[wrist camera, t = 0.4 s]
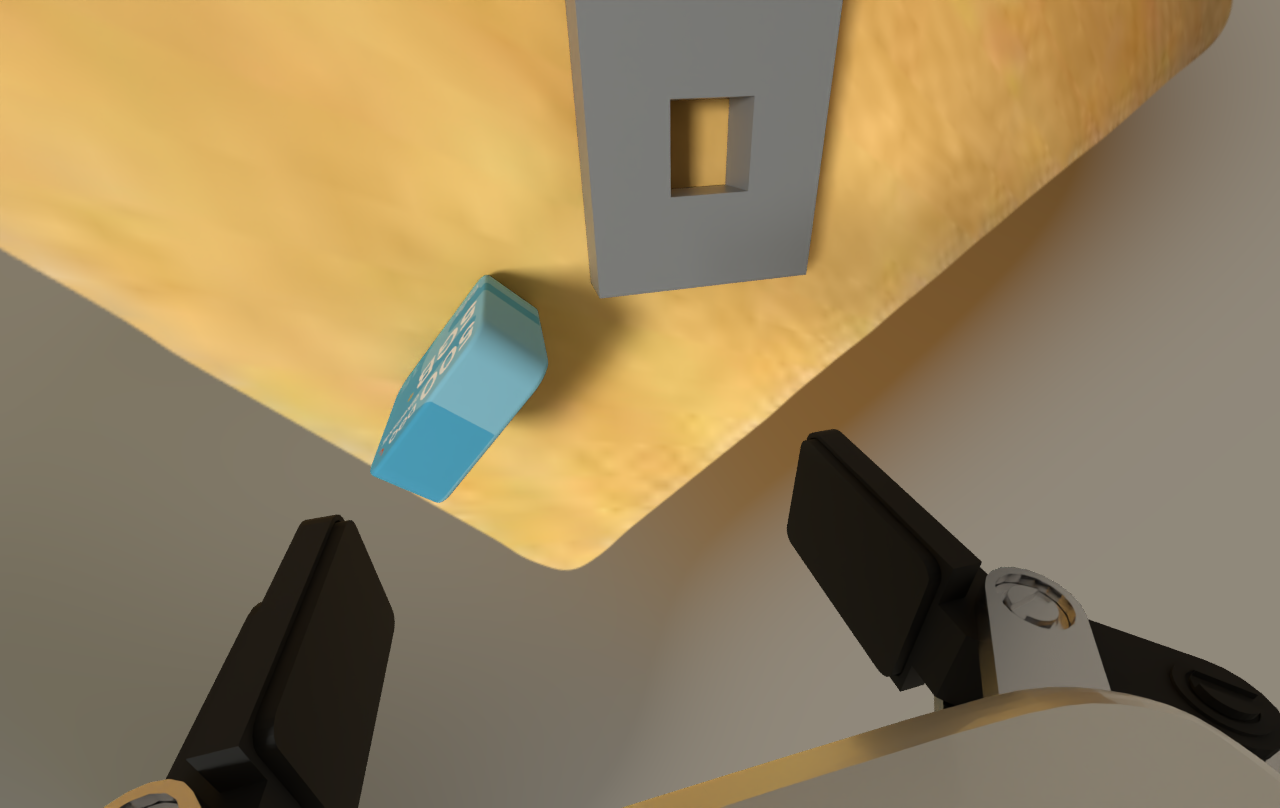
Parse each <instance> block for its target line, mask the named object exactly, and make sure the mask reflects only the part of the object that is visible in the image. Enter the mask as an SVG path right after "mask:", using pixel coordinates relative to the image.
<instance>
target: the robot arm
mask: <svg viewBox="0 0 1280 808" xmlns="http://www.w3.org/2000/svg"><path fill="white" fill-rule="evenodd" d="M787 534H788V538H789V540H790V542H791V544H792V545H793V547H794V548H795V550H796V551H797V553H798V554H799V556H800V557H801V558H802V560H803V561H804V563H805V564H806V565H807V567H808V569H809V570H810V572H811V573H812V575H813V576H814V577H815V579H816V580H817V582H818V583H819V585H820V586H821V588H822V589H823V590H824V592H825V593H826V595H827V596H828V598H829V599H830V601H831V602H832V603H833V605H834V607H835V608H836V609H837V611H838V612H839V614H840V615H841V617H842V618H843V620H844V621H845V623H846V624H847V625H848V627H849V628H850V630H851V631H852V633H853V634H854V636H855V637H856V639H857V640H858V642H859V643H860V644H861V646H862V647H863V649H864V650H865V652H866V653H867V655H868V656H869V658H870V659H871V660H872V662H873V663H874V665H875V666H876V668H877V669H878V670H879V671H880V673H882V674H883V675H884V676H886V677H888V676H890V678H891V679H892V681H893V682H894V683H895V685H896V686H897V688H898V689H899V691H904V690H907V689H911V688H914V687H917V686H920V685H924V683H925V684H926V685H927V686H928V688H929V689H930V690H931V692H932V693H933V694H934V712H932V713H929V714H925V715H922V716H918V717H915V718H911V719H908V720H905V721H901V722H898V723H895V724H891V725H888V726H885V727H881V728H879V729H875V730H872V731H868V732H865V733H862V734H859V735H856V736H852V737H849V738H845V739H842V740H839V741H836V742H833V743H829V744H826V745H823V746H819V747H816V748H813V749H810V750H806V751H803V752H800V753H797V754H793V755H790V756H787V757H783V758H780V759H777V760H774V761H771V762H768V763H764V764H761V765H758V766H755V767H751V768H748V769H745V770H742V771H738V772H735V773H732V774H729V775H725V776H722V777H719V778H716V779H712V780H709V781H706V782H703V783H700V784H696V785H693V786H690V787H687V788H684V789H680V790H677V791H674V792H671V793H668V794H664V795H661V796H658V797H655V798H652V799H648V800H645V801H642V802H639V803H636V804H632V805H629V806H626V807H623V808H1280V713H1279V711H1278V710H1277V708H1276V707H1275V706H1273V704H1272V703H1271V702H1270V701H1269V700H1268V699H1267V698H1266V697H1265V696H1264V695H1263V694H1262V693H1260V692H1259V691H1258V690H1256V689H1255V688H1254V687H1252V686H1251V685H1250V684H1248V683H1247V682H1246V681H1244V680H1243V679H1241V678H1240V677H1238V676H1236V675H1234V674H1233V673H1231V672H1229V671H1228V670H1226V669H1224V668H1222V667H1219V666H1217V665H1215V664H1213V663H1210V662H1208V661H1206V660H1203V659H1200V658H1197V657H1195V656H1192V655H1189V654H1186V653H1183V652H1180V651H1177V650H1174V649H1171V648H1169V647H1166V646H1163V645H1160V644H1157V643H1154V642H1152V641H1148V640H1146V639H1143V638H1140V637H1137V636H1134V635H1132V634H1128V633H1126V632H1123V631H1120V630H1117V629H1114V628H1111V627H1109V626H1106V625H1103V624H1100V623H1097V622H1094V621H1091V620H1088V618H1087V615H1086V613H1085V611H1084V609H1083V608H1082V606H1081V604H1080V603H1079V602H1078V601H1077V600H1076V599H1075V598H1074V597H1073V596H1072V594H1071V593H1069V592H1068V591H1067V590H1066V589H1064V588H1063V587H1062V586H1060V585H1059V584H1058V583H1056V582H1054V581H1052V580H1050V579H1048V578H1047V577H1045V576H1043V575H1040V574H1038V573H1035V572H1032V571H1030V570H1026V569H1021V568H1016V567H1000V568H998V569H995V570H992V571H991V572H990V573H989V574H987V573H986V572H985V571H983V570H982V569H981V568H980V565H981V561H980V560H979V559H978V558H977V557H976V556H975V555H974V554H973V553H972V552H971V551H969V550H968V549H967V548H966V547H965V546H964V545H963V544H962V543H961V542H960V541H959V540H958V539H956V538H955V537H954V536H953V535H952V534H951V533H950V532H949V531H948V530H947V529H945V527H943V526H942V525H941V524H940V523H939V522H938V521H937V520H936V519H935V518H934V517H933V516H932V515H930V514H929V513H928V512H927V511H926V510H925V509H924V508H923V507H922V506H920V505H919V504H918V503H917V502H916V501H915V500H914V499H913V498H912V497H911V496H910V495H909V494H908V493H906V492H905V491H904V490H903V489H902V488H901V487H900V486H899V485H898V484H897V483H896V482H894V481H893V480H892V479H891V478H890V477H889V476H888V475H887V474H886V473H885V472H883V470H881V469H880V468H879V467H878V466H877V465H876V464H875V463H874V462H873V461H872V460H870V458H868V457H867V456H866V455H865V454H864V453H863V452H862V451H861V450H860V449H859V448H858V447H856V446H855V445H854V444H853V443H852V442H851V441H850V440H849V439H848V438H847V437H846V436H845V435H843V434H842V433H841V432H840V431H838V430H836V429H831V430H825V431H819V432H814V433H811V434H809V436H808V437H807V440H805V441H803V442H802V445H801V449H800V454H799V460H798V467H797V472H796V477H795V483H794V489H793V495H792V501H791V506H790V513H789V518H788V524H787ZM394 622H395V621H394V613H393V610H392V608H391V605H390V603H389V601H388V598H387V596H386V594H385V592H384V589H383V587H382V585H381V582H380V580H379V578H378V575H377V573H376V571H375V569H374V566H373V564H372V562H371V559H370V557H369V555H368V552H367V550H366V548H365V545H364V543H363V541H362V539H361V536H360V534H359V532H358V529H357V527H356V525H355V523H354V522H353V521H352V520H348V521H344V519H343V518H342V517H341V516H340V515H332V516H326V517H320V518H314V519H309V520H305V521H303V522H302V523H301V524H300V526H299V528H298V529H297V531H296V533H295V536H294V538H293V540H292V542H291V544H290V546H289V548H288V550H287V552H286V554H285V556H284V559H283V560H282V562H281V564H280V566H279V568H278V571H277V572H276V575H275V577H274V579H273V581H272V583H271V585H270V587H269V589H268V591H267V593H266V595H265V597H264V599H263V601H262V602H260V603H258V604H257V605H256V606H255V607H253V609H252V610H251V612H250V614H249V615H248V617H247V618H246V620H245V622H244V624H243V626H242V628H241V630H240V633H239V634H238V637H237V638H236V640H235V643H234V644H233V646H232V648H231V650H230V652H229V655H228V656H227V658H226V660H225V662H224V664H223V666H222V668H221V670H220V672H219V674H218V676H217V678H216V680H215V682H214V684H213V686H212V688H211V690H210V692H209V694H208V696H207V698H206V700H205V702H204V704H203V706H202V708H201V710H200V712H199V714H198V716H197V718H196V720H195V722H194V724H193V726H192V728H191V730H190V732H189V734H188V736H187V738H186V740H185V742H184V744H183V746H182V748H181V750H180V752H179V754H178V756H177V758H176V760H175V762H174V764H173V766H172V768H171V770H170V772H169V774H168V776H167V778H166V780H161V781H155V782H149V783H147V784H145V785H142V786H140V787H138V788H136V789H133V790H131V791H128V792H127V793H125V794H123V795H122V796H120V797H119V798H117V799H116V800H114V801H113V802H111V803H109V804H108V805H106V806H105V807H103V808H358V805H359V800H360V795H361V790H362V785H363V781H364V775H365V771H366V766H367V761H368V756H369V751H370V746H371V741H372V736H373V731H374V726H375V721H376V717H377V711H378V707H379V702H380V697H381V692H382V687H383V682H384V677H385V672H386V667H387V662H388V657H389V652H390V648H391V643H392V637H393V633H394V624H395V623H394Z"/></svg>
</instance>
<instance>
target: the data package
mask: <svg viewBox="0 0 1280 808" xmlns="http://www.w3.org/2000/svg"><path fill="white" fill-rule="evenodd" d="M547 367H548V358H547V353H546V348H545V343H544V338H543V334H542V329H541V324H540V319H539V314H538V310H537V309H536V308H535V307H533V306H532V305H530V304H529V303H528V302H526V301H525V300H523V299H522V298H520V297H519V296H518V295H516V294H515V293H513V292H512V291H511V290H509V289H508V288H506V287H505V286H503V285H502V284H501V283H499V282H498V281H496V280H495V279H493V278H492V277H491V276H489V275H484V276H483V277H482V278H481V279H480V280H479V281H478V282H477V283H476V284H475V286H474V287H473V289H472V290H471V291H470V293H469V294H468V295H467V297H466V298H465V300H464V301H463V302H462V304H461V305H460V306H459V308H458V309H457V311H456V312H455V313H454V315H453V316H452V317H451V319H450V320H449V322H448V323H447V324H446V326H445V327H444V328H443V330H442V331H441V333H440V334H439V335H438V337H437V338H436V339H435V341H434V342H433V344H432V345H431V346H430V348H429V349H428V350H427V352H426V353H425V355H424V356H423V357H422V359H421V360H420V361H419V363H418V364H417V366H416V367H415V368H414V370H413V371H412V372H411V374H410V375H409V377H408V378H407V380H406V381H405V383H404V384H403V386H402V388H401V389H400V391H399V393H398V395H397V398H396V400H395V403H394V406H393V409H392V411H391V414H390V417H389V419H388V422H387V425H386V428H385V430H384V433H383V436H382V439H381V441H380V444H379V447H378V450H377V452H376V455H375V458H374V460H373V463H372V466H371V470H370V472H371V474H372V475H373V476H375V477H377V478H379V479H382V480H384V481H386V482H389V483H391V484H394V485H396V486H398V487H401V488H403V489H405V490H408V491H410V492H413V493H415V494H417V495H420V496H422V497H425V498H427V499H429V500H432V501H434V502H437V503H440V502H443V501H444V500H446V499H447V498H448V497H449V496H450V495H451V493H452V492H453V491H454V490H455V488H456V487H457V486H458V485H459V484H460V482H461V481H462V480H463V479H464V477H465V476H466V475H467V474H468V473H469V471H470V470H471V469H472V468H473V466H474V465H475V464H476V463H477V462H478V460H479V459H480V458H481V457H482V455H483V454H484V453H485V452H486V451H487V449H488V448H489V447H490V446H491V444H492V443H493V442H494V441H495V440H496V438H497V437H498V436H499V435H500V433H501V432H502V431H503V430H504V428H505V427H506V426H507V425H508V424H509V422H510V421H511V420H512V419H513V417H514V416H515V415H516V414H517V413H518V411H519V410H520V409H521V408H522V406H523V405H524V404H525V403H526V402H527V400H528V399H529V398H530V397H531V395H532V394H533V393H534V392H535V390H536V389H537V388H538V386H539V385H540V383H541V381H542V380H543V378H544V375H545V373H546V370H547Z"/></svg>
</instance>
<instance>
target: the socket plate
mask: <svg viewBox="0 0 1280 808" xmlns="http://www.w3.org/2000/svg"><path fill="white" fill-rule="evenodd" d="M842 2H843V0H565V4H566V15H567V26H568V37H569V48H570V59H571V70H572V81H573V92H574V103H575V114H576V125H577V136H578V147H579V158H580V169H581V180H582V191H583V202H584V213H585V224H586V235H587V246H588V257H589V268H590V279H591V284H592V286H593V287H594V289H595V291H596V293H597V294H598V296H599V298H609V297H617V296H626V295H634V294H643V293H651V292H660V291H669V290H677V289H686V288H694V287H703V286H711V285H720V284H729V283H737V282H746V281H754V280H763V279H772V278H780V277H789V276H797V275H806V271H807V263H808V256H809V248H810V241H811V233H812V226H813V219H814V211H815V204H816V196H817V189H818V181H819V174H820V166H821V159H822V151H823V144H824V137H825V129H826V122H827V114H828V107H829V99H830V92H831V84H832V77H833V70H834V62H835V55H836V47H837V40H838V32H839V25H840V17H841V10H842ZM720 98H729V119H728V140H727V162H726V184H725V185H714V186H701V187H688V188H675V189H671V160H670V100H695V99H720Z"/></svg>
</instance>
